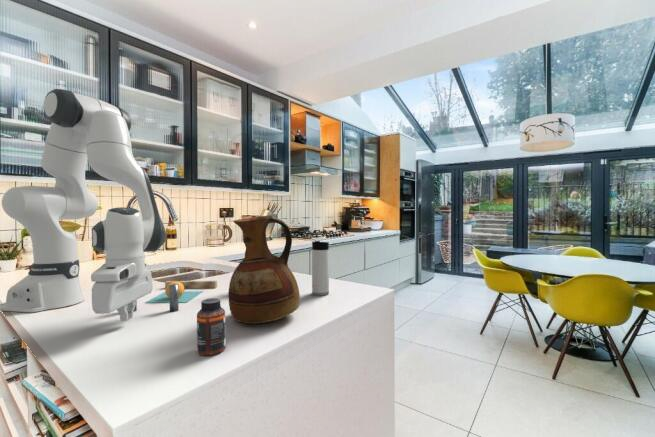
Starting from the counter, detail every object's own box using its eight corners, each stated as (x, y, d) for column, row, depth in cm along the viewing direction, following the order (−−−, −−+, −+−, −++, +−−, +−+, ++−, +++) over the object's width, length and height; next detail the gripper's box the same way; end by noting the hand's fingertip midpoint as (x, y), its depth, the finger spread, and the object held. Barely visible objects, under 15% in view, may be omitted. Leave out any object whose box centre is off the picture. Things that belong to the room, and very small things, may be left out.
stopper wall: (165, 288, 124) (165, 282, 124) (167, 287, 126) (167, 281, 126) (215, 288, 124) (215, 281, 124) (217, 286, 126) (217, 280, 126)
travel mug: (308, 295, 114) (308, 240, 113) (316, 290, 120) (316, 239, 119) (324, 297, 111) (324, 241, 111) (331, 292, 118) (331, 239, 117)
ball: (169, 277, 112) (173, 291, 114) (159, 287, 106) (164, 301, 109) (185, 278, 111) (189, 292, 113) (176, 288, 106) (180, 302, 108)
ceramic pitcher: (225, 311, 95) (224, 214, 95) (288, 304, 103) (288, 214, 102) (232, 335, 77) (231, 215, 77) (309, 323, 85) (308, 214, 84)
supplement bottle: (231, 346, 71) (230, 297, 71) (213, 358, 65) (213, 305, 65) (209, 343, 73) (209, 295, 73) (191, 354, 67) (190, 302, 67)
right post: (168, 311, 96) (167, 286, 95) (172, 309, 98) (171, 284, 98) (176, 311, 96) (175, 285, 95) (180, 309, 98) (179, 284, 98)
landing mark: (144, 303, 105) (144, 302, 105) (165, 292, 119) (165, 291, 119) (186, 302, 105) (186, 302, 105) (202, 291, 119) (202, 291, 119)
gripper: (136, 261, 94) (137, 307, 94) (85, 276, 73) (86, 334, 73) (158, 261, 94) (158, 307, 94) (112, 276, 73) (113, 334, 74)
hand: (126, 319), depth 84 cm, fingers closed
